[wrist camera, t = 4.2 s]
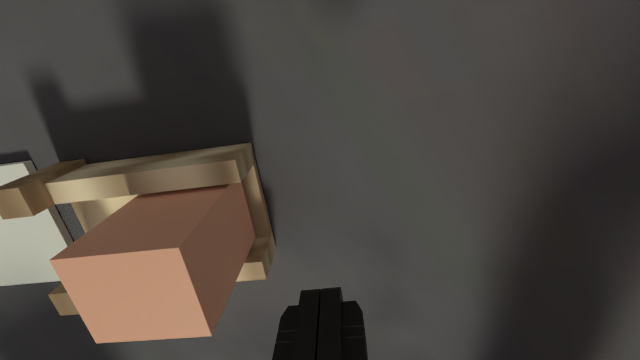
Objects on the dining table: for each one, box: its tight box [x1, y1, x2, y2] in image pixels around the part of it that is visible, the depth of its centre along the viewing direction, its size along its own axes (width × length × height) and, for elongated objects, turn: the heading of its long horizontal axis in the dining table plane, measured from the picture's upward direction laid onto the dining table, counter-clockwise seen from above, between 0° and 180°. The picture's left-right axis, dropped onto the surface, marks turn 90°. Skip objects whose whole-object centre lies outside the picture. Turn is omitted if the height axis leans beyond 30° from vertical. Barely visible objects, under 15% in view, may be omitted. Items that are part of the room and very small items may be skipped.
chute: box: [0, 143, 276, 316], centre depth 21 cm, size 14×9×5 cm, turn 98°
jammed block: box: [49, 183, 256, 343], centre depth 18 cm, size 6×5×8 cm
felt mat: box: [0, 160, 73, 286], centre depth 24 cm, size 8×10×1 cm
